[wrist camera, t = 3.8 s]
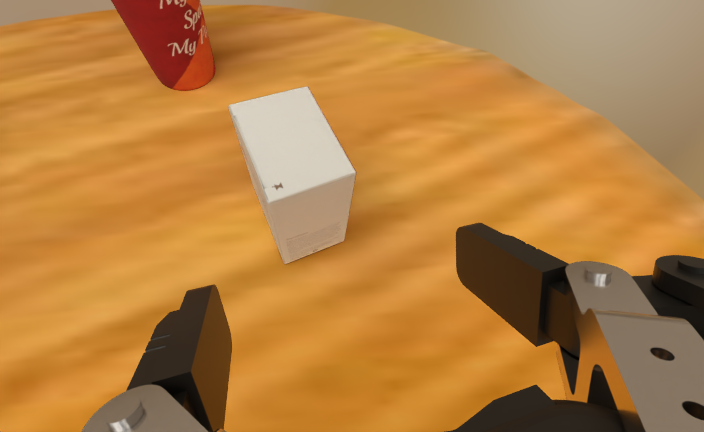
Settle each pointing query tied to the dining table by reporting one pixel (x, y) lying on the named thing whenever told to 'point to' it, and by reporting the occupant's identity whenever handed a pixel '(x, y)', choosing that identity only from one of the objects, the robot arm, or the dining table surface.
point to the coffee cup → (171, 39)
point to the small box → (296, 170)
